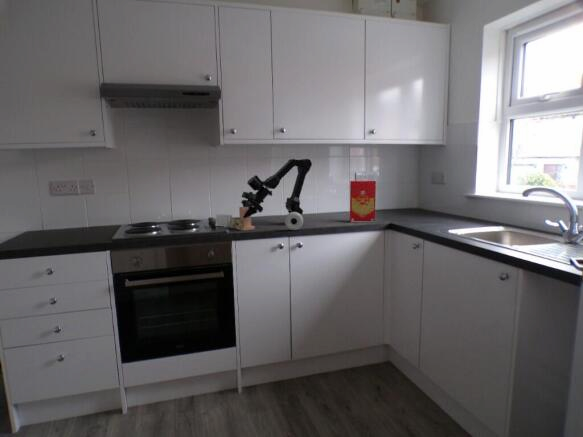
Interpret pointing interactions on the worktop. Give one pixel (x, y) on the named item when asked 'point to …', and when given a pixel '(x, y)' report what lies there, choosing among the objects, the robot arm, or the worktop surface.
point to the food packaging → (362, 200)
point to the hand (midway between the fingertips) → (242, 217)
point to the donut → (291, 216)
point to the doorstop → (245, 219)
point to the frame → (223, 220)
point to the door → (236, 224)
